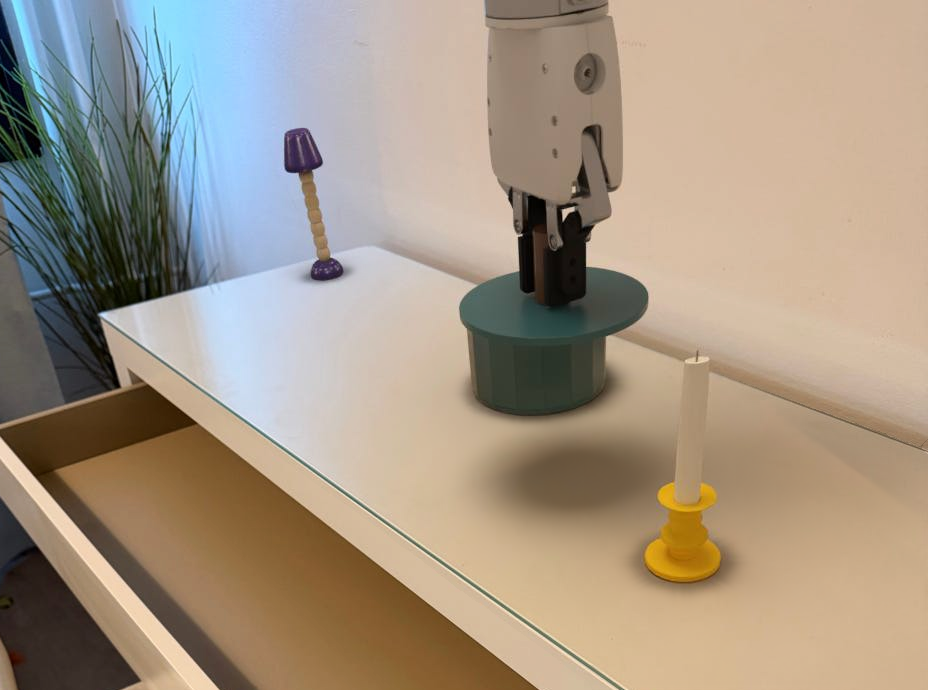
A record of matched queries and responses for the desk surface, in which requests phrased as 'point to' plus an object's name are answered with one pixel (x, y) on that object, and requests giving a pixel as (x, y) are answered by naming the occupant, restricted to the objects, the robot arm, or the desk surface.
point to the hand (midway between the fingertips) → (552, 292)
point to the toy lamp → (310, 196)
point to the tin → (536, 375)
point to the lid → (536, 324)
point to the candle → (687, 491)
